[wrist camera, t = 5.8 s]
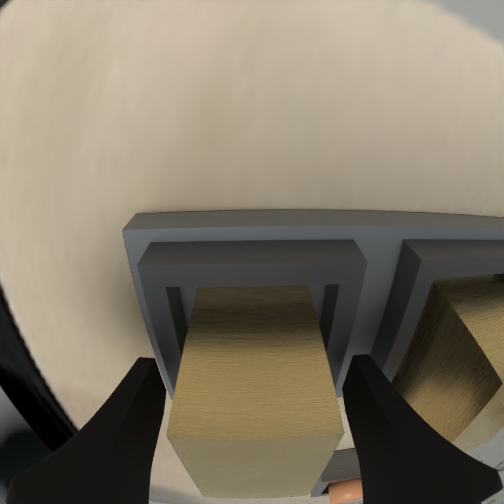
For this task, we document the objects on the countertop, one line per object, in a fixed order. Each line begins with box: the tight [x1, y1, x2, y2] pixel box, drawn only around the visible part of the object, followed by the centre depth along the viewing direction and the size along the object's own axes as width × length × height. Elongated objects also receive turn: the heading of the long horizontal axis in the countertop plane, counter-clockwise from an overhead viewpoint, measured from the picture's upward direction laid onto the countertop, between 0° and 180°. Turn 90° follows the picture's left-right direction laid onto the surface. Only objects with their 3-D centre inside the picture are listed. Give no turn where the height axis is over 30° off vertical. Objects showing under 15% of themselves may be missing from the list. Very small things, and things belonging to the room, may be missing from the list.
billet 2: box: [393, 274, 504, 452], centre depth 10 cm, size 4×6×6 cm, turn 1°
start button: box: [328, 478, 363, 504], centre depth 20 cm, size 4×4×3 cm
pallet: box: [122, 210, 504, 400], centre depth 12 cm, size 18×10×3 cm, turn 91°
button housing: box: [310, 448, 361, 497], centre depth 22 cm, size 6×6×3 cm
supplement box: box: [465, 427, 504, 504], centre depth 19 cm, size 7×7×13 cm
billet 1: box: [166, 285, 344, 498], centre depth 10 cm, size 4×6×6 cm, turn 1°
